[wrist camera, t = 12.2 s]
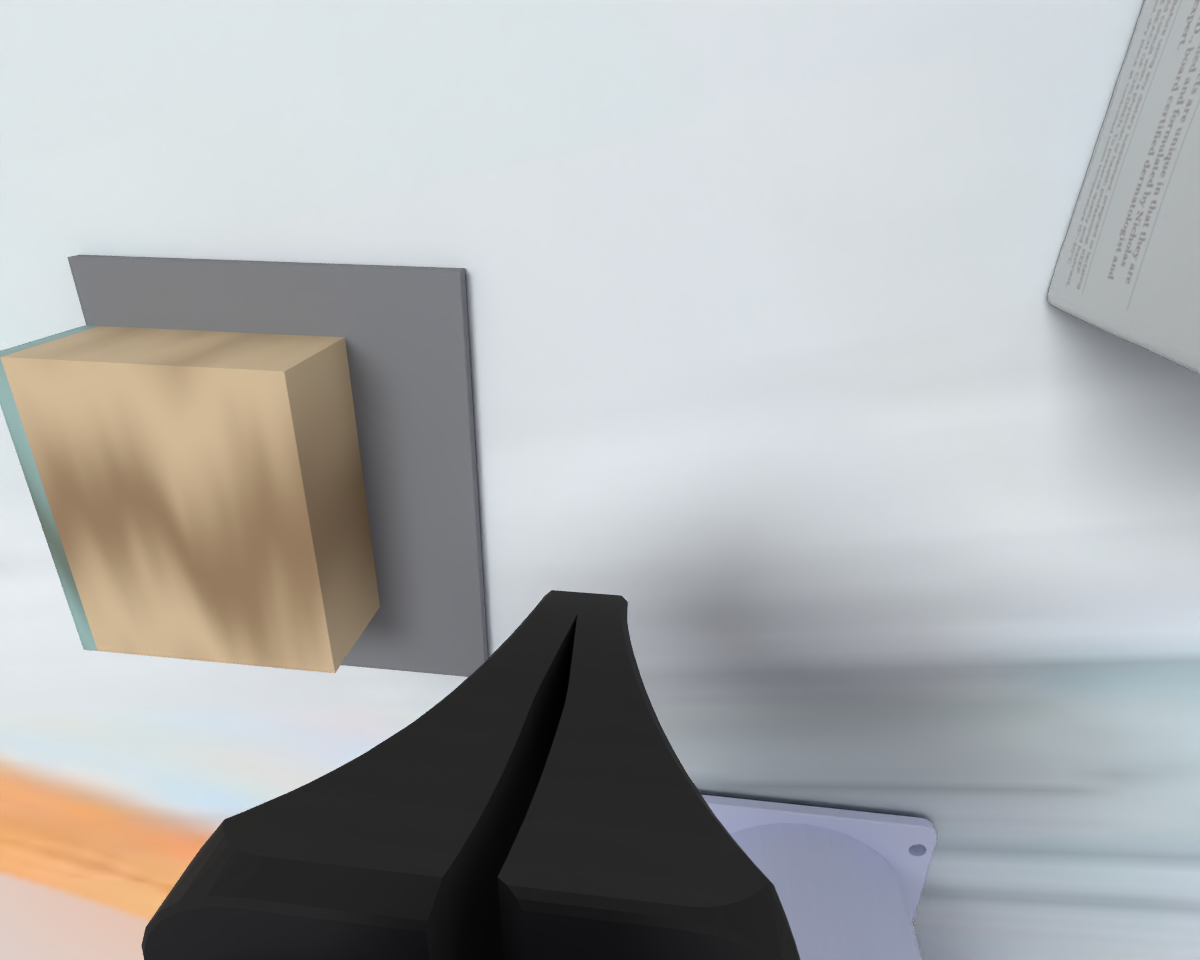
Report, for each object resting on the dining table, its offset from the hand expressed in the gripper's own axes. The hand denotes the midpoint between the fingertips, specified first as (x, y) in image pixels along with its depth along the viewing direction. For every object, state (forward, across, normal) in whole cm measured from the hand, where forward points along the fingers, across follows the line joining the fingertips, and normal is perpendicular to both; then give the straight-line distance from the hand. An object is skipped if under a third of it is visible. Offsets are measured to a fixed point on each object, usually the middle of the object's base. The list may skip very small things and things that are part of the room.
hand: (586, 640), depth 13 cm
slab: (+5, +7, +1) cm, 9 cm away
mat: (+7, +9, +1) cm, 12 cm away
